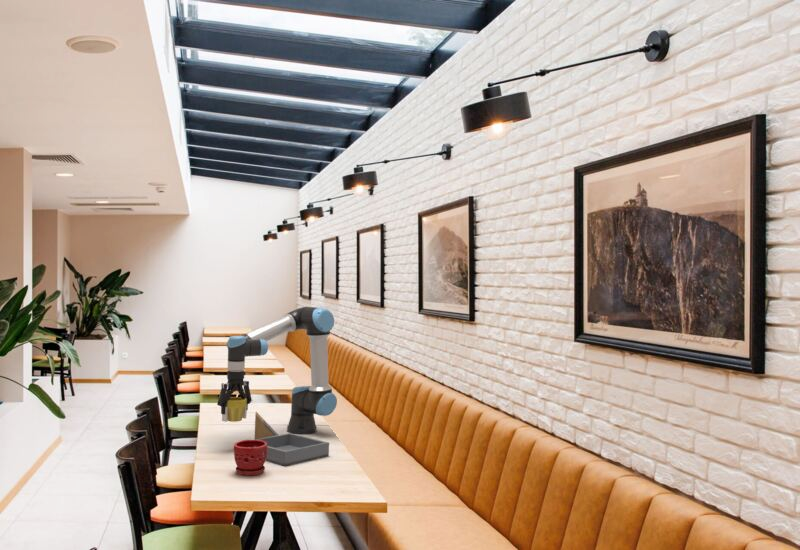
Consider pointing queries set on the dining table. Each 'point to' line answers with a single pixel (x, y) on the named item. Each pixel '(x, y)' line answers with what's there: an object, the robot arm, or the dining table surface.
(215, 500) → the dining table surface
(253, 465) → the plant pot
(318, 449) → the crate
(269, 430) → the sandwich container
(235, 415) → the plant pot
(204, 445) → the dining table surface
